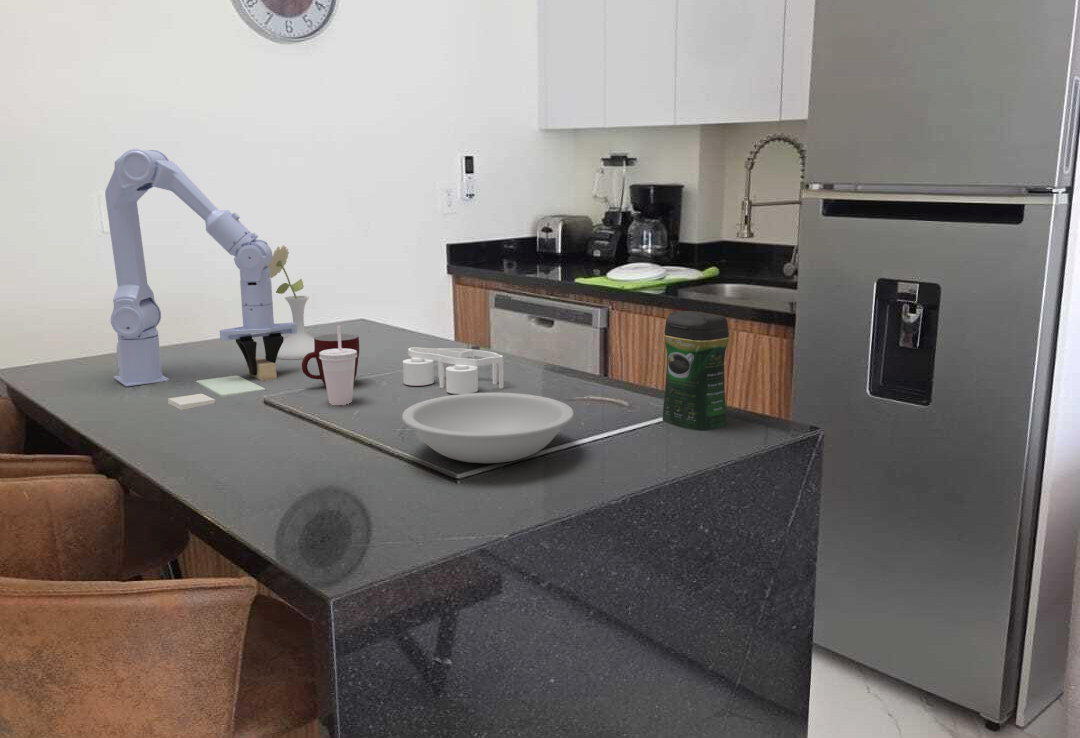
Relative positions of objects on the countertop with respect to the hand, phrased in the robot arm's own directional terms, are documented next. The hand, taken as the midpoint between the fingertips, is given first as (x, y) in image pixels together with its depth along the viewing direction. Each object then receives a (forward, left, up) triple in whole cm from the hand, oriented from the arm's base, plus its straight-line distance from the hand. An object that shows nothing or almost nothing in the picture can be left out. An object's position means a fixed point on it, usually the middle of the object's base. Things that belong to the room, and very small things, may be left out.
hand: (261, 373), depth 183 cm
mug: (+17, +7, -2) cm, 18 cm away
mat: (+4, -7, -1) cm, 8 cm away
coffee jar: (+77, +40, -2) cm, 87 cm away
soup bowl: (+69, +7, -2) cm, 69 cm away
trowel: (0, 0, -1) cm, 1 cm away
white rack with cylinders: (+31, +24, -2) cm, 39 cm away
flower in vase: (-14, +13, -2) cm, 19 cm away
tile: (+8, -17, -1) cm, 19 cm away
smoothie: (+29, +3, -2) cm, 29 cm away
